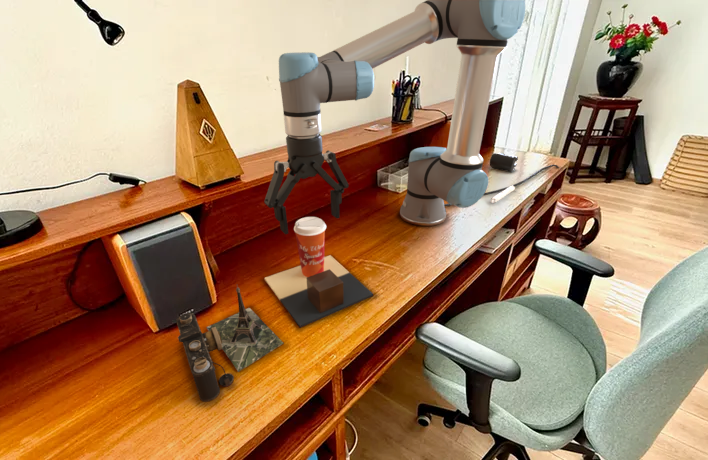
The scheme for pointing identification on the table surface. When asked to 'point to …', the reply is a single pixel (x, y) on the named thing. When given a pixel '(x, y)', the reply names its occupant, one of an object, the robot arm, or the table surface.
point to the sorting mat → (295, 295)
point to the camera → (202, 356)
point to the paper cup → (310, 244)
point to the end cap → (503, 162)
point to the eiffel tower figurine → (245, 336)
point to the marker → (502, 194)
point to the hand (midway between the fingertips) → (311, 223)
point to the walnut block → (325, 290)
